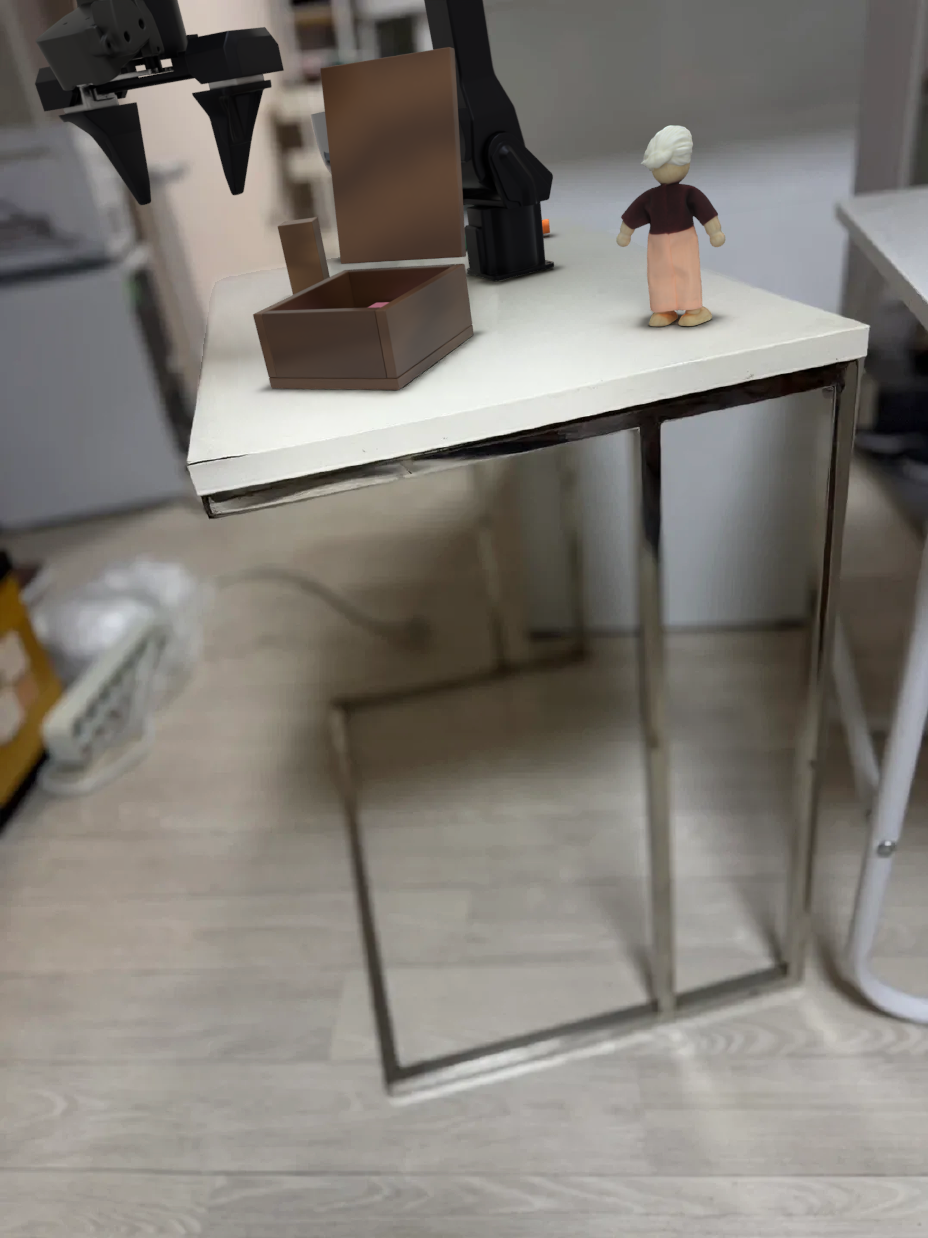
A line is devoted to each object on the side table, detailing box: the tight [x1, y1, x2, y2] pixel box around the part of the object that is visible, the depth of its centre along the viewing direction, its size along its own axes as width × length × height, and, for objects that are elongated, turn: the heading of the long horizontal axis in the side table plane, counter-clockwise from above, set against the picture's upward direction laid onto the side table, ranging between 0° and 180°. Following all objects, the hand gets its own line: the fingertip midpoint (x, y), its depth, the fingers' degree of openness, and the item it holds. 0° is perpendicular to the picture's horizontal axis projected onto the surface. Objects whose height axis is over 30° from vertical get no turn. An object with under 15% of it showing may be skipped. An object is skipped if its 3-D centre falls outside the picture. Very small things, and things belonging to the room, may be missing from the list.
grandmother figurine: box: [615, 125, 726, 327], centre depth 64 cm, size 8×4×13 cm, turn 71°
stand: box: [277, 216, 331, 295], centre depth 90 cm, size 3×3×7 cm
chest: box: [252, 263, 475, 391], centre depth 67 cm, size 13×11×5 cm
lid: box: [319, 47, 467, 265], centre depth 68 cm, size 13×11×1 cm
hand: (190, 199), depth 71 cm, fingers open, 9 cm apart
